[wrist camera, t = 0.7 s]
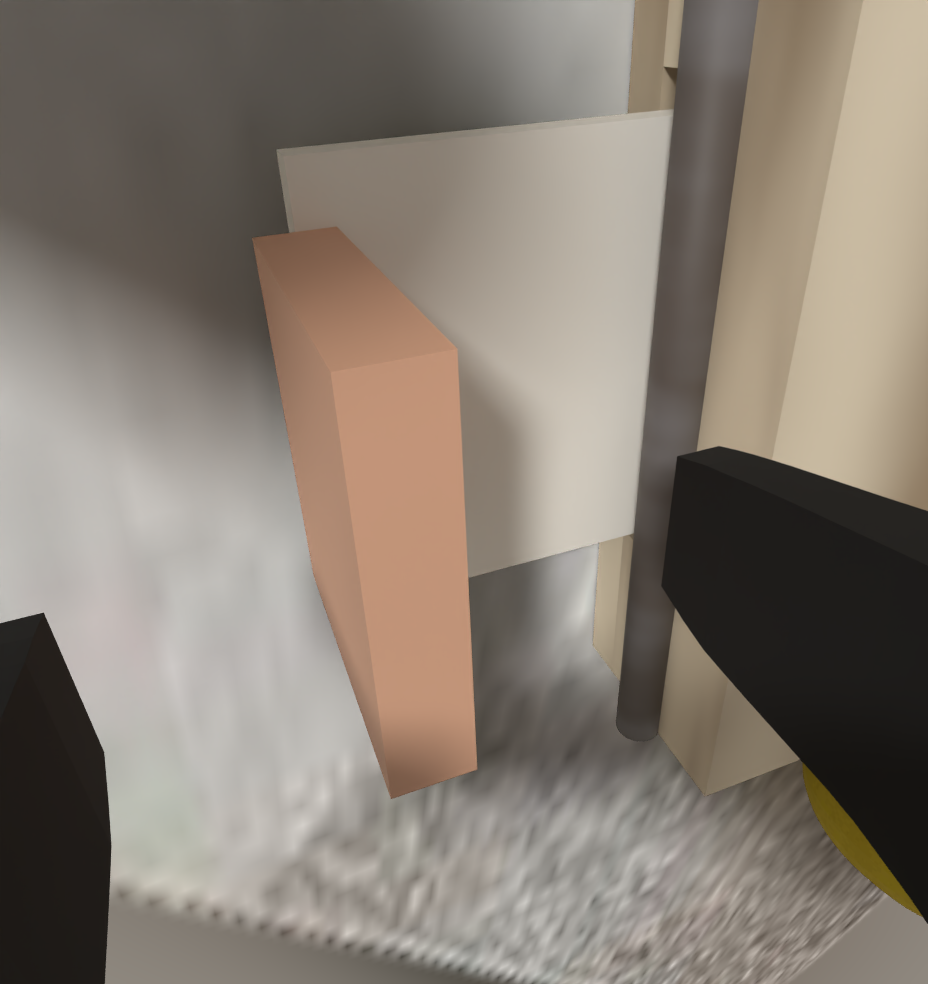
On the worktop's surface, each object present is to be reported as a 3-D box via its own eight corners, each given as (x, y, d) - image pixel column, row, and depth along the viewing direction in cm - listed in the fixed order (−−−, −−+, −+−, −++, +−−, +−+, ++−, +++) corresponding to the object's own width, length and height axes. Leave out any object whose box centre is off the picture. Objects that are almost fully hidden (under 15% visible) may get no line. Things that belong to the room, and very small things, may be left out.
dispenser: (1106, -264, 14) (1513, -373, 10) (862, 561, 23) (1016, 676, 19) (604, -294, 11) (883, -463, 7) (565, 653, 21) (673, 809, 17)
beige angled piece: (1031, 72, 15) (1418, 102, 11) (918, 439, 19) (1157, 571, 15) (232, 153, 11) (314, 259, 6) (314, 598, 15) (398, 844, 11)
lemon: (853, 744, 29) (1061, 952, 23) (732, 776, 27) (922, 1015, 21) (912, 626, 26) (1166, 825, 20) (781, 652, 24) (1018, 882, 18)
